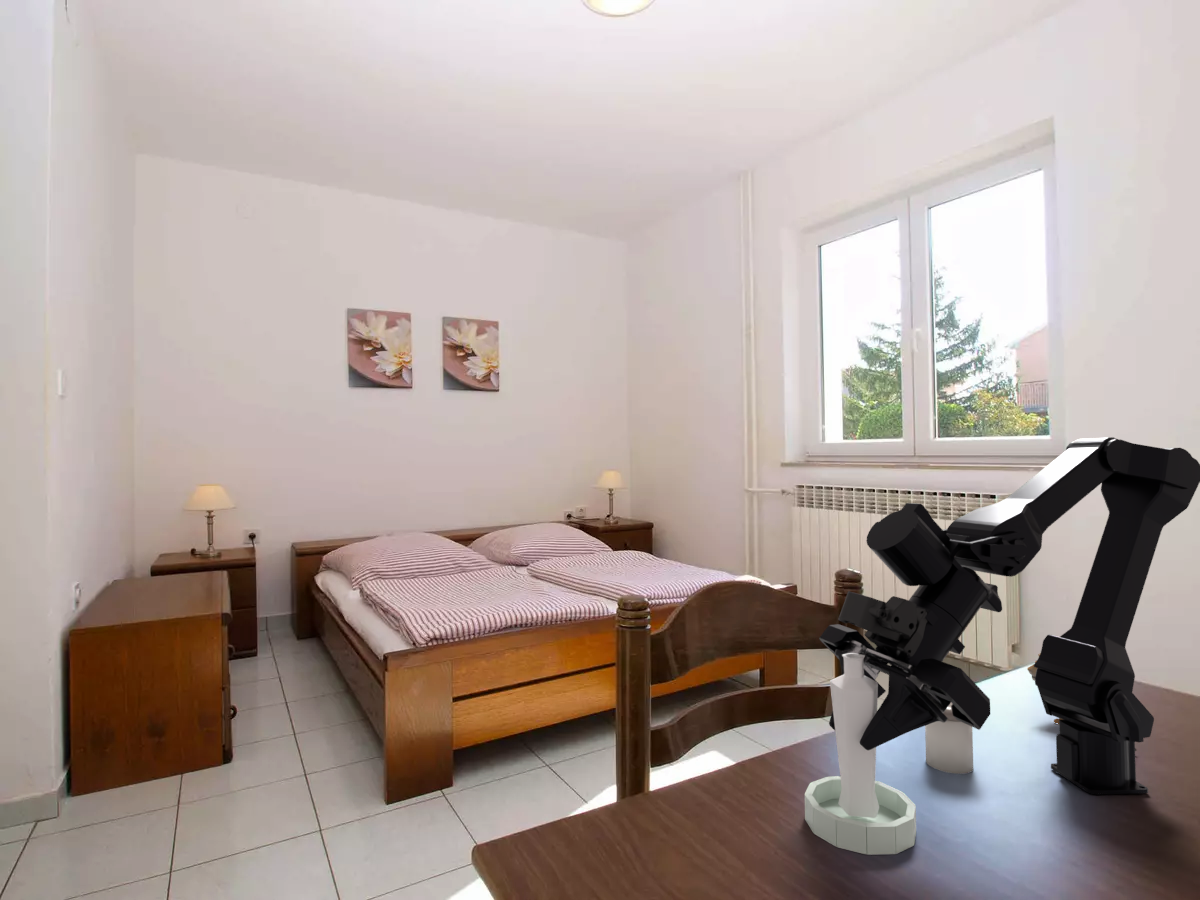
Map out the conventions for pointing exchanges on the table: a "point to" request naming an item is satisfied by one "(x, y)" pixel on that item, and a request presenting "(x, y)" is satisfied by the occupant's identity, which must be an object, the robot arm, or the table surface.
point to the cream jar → (949, 745)
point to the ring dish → (861, 819)
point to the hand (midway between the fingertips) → (847, 737)
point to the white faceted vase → (855, 736)
